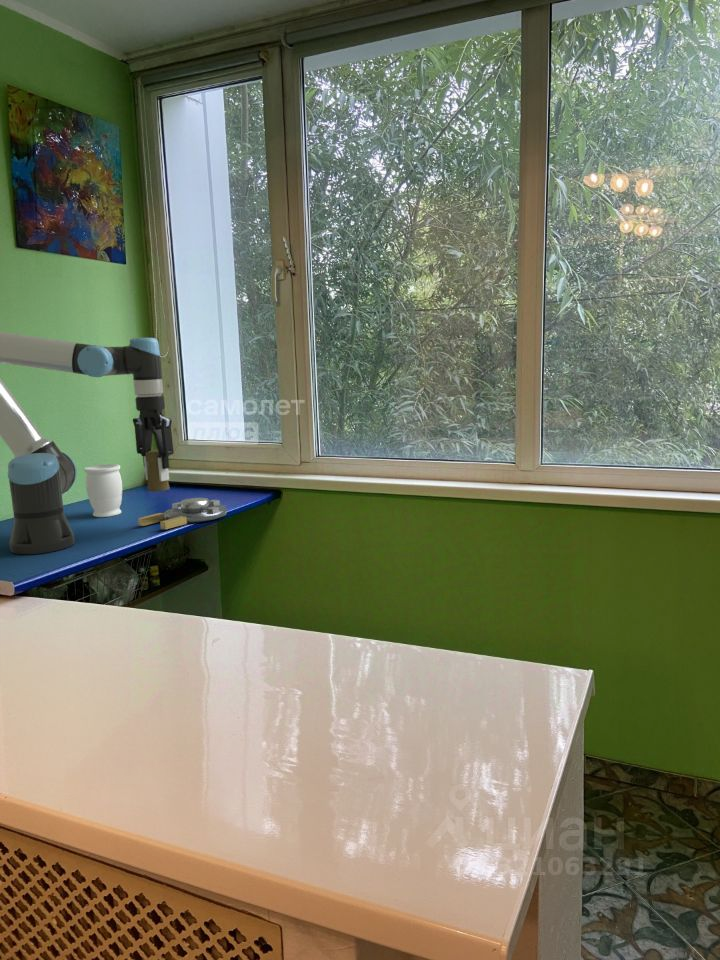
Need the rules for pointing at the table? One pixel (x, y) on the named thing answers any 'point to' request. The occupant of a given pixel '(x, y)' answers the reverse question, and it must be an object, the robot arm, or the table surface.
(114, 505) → the jar
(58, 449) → the robot arm
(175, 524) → the grey disc with block
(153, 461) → the cork
